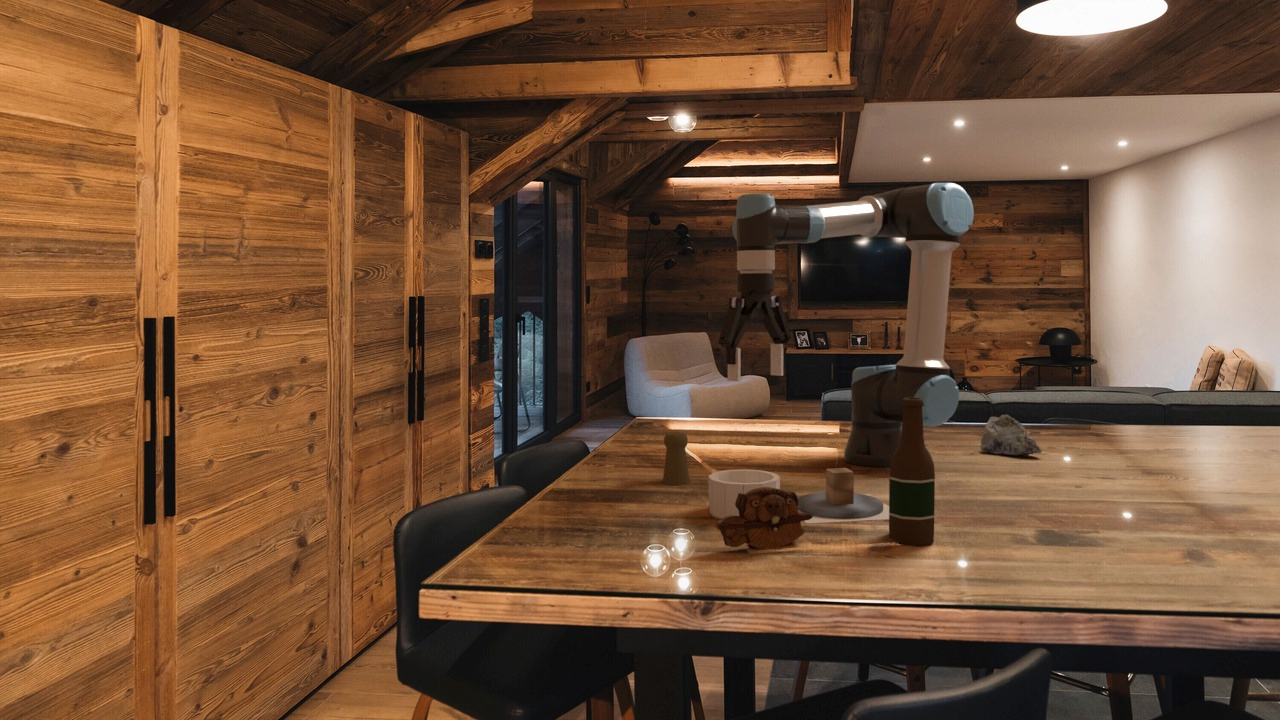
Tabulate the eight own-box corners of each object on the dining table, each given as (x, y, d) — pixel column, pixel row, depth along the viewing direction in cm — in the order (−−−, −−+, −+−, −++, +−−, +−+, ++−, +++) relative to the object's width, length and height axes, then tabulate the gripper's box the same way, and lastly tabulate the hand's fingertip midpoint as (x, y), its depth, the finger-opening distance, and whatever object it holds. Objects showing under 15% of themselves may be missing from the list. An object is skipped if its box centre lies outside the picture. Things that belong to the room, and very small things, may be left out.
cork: (687, 485, 198) (687, 435, 197) (660, 484, 200) (659, 434, 199) (692, 479, 204) (691, 430, 203) (665, 478, 205) (664, 430, 205)
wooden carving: (727, 558, 146) (726, 496, 146) (714, 550, 151) (714, 490, 150) (817, 546, 152) (817, 487, 151) (803, 539, 156) (803, 481, 155)
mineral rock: (1044, 459, 220) (1045, 418, 219) (1001, 461, 219) (1002, 419, 218) (1016, 450, 233) (1017, 410, 232) (975, 451, 232) (976, 412, 231)
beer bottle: (880, 534, 158) (881, 396, 156) (924, 533, 159) (926, 394, 157) (897, 547, 150) (898, 401, 148) (943, 545, 151) (945, 400, 149)
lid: (864, 496, 184) (864, 460, 183) (897, 516, 168) (897, 477, 167) (786, 500, 181) (786, 463, 181) (812, 520, 166) (812, 481, 165)
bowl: (768, 503, 182) (768, 468, 181) (787, 520, 169) (787, 482, 168) (703, 506, 180) (703, 471, 179) (717, 523, 167) (717, 485, 166)
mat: (868, 497, 185) (868, 494, 185) (908, 521, 166) (908, 518, 166) (776, 501, 183) (776, 498, 183) (806, 526, 164) (806, 523, 164)
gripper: (779, 272, 195) (779, 372, 197) (699, 272, 178) (700, 382, 180) (808, 271, 190) (808, 374, 192) (729, 272, 173) (729, 384, 175)
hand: (756, 378), depth 186 cm, fingers open, 13 cm apart
